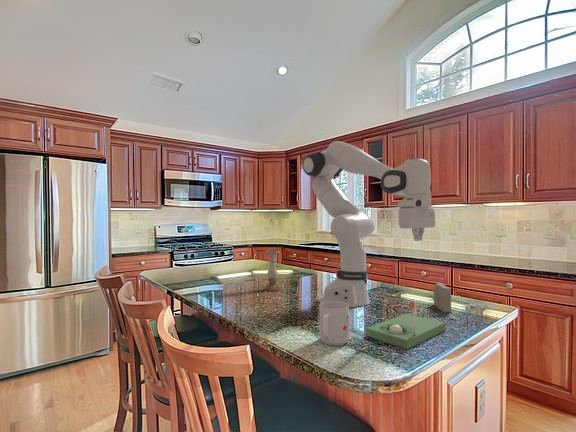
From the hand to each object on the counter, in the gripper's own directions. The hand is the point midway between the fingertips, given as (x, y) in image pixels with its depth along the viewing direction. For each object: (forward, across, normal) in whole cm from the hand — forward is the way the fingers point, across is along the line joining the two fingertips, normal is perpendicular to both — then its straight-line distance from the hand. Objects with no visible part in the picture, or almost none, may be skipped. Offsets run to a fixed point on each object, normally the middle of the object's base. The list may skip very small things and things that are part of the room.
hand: (418, 240), depth 120 cm
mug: (+29, +40, -6) cm, 50 cm away
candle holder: (+29, +8, -76) cm, 82 cm away
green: (+29, +15, +4) cm, 33 cm away
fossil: (+29, -23, -2) cm, 37 cm away
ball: (+27, +22, +4) cm, 35 cm away
